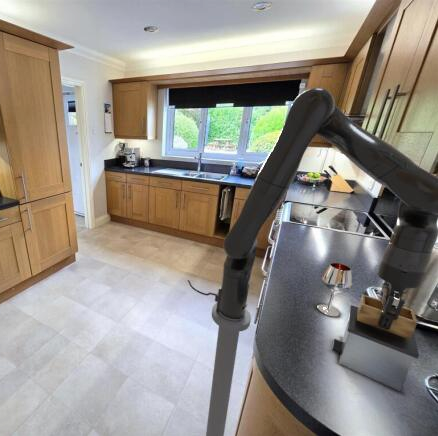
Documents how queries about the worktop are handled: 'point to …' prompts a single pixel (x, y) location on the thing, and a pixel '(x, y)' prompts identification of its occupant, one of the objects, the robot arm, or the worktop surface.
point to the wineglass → (335, 284)
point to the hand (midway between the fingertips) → (382, 320)
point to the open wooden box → (371, 314)
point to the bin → (376, 352)
